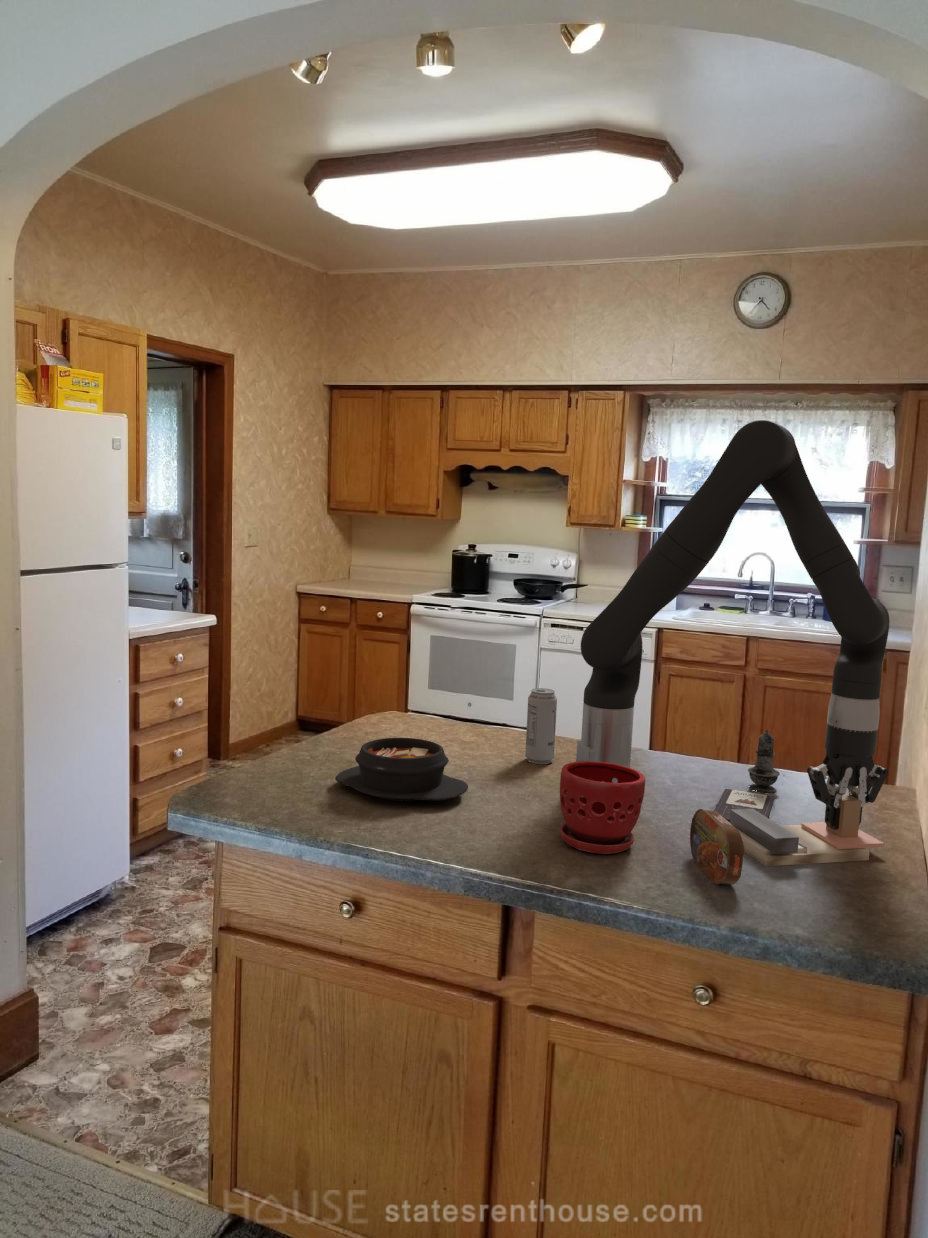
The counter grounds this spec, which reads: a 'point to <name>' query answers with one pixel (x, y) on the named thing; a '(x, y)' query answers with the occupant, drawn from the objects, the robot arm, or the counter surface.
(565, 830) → the plant pot
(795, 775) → the counter surface
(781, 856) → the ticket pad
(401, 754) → the casserole
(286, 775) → the counter surface
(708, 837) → the tin
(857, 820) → the tan block on plate
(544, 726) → the energy drink can
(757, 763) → the stone finial
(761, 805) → the chocolate bar
